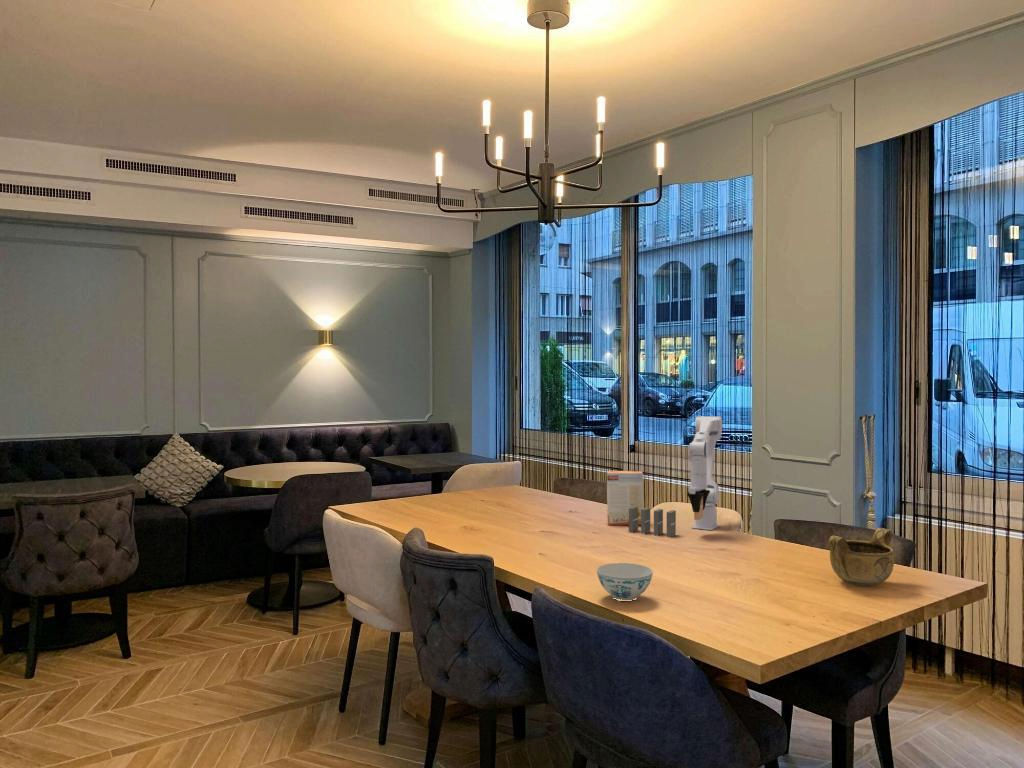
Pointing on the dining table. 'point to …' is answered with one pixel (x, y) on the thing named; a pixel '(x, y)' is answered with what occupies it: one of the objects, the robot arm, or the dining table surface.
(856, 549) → the ceramic bowl
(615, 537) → the dining table surface
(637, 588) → the chinaware
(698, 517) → the terracotta domino
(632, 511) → the end domino
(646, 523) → the domino
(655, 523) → the domino
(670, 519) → the domino
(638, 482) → the cracker box
